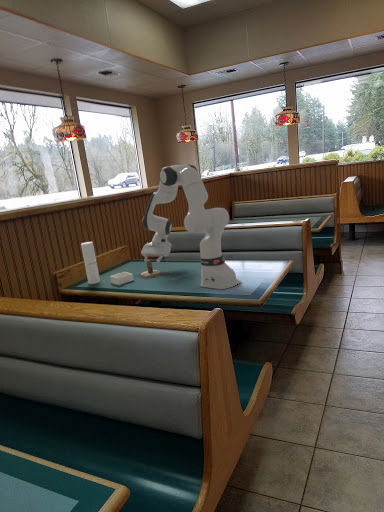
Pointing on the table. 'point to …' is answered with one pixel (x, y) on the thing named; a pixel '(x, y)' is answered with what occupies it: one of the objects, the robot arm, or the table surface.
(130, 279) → the white hollow square box
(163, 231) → the robot arm
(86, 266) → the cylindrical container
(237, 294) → the table surface
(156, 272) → the lid
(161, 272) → the mat
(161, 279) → the table surface
